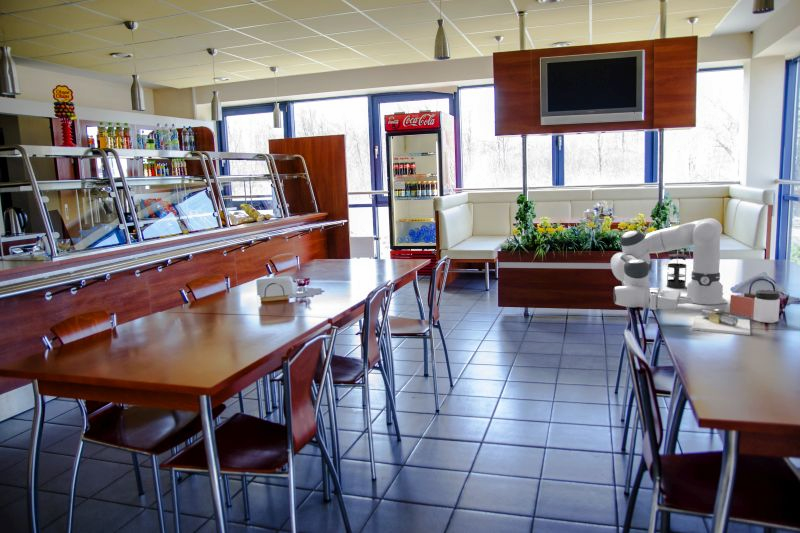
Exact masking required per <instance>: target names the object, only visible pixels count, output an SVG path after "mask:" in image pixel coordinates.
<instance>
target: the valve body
mask: <svg viewBox="0 0 800 533" xmlns="http://www.w3.org/2000/svg"><path fill="white" fill-rule="evenodd" d="M700 316H702V317H705V318H708V319H709V321H711V322H714V323H718V324H721V323H726V324H729V325H733V326H735V325H737V323H738V319H739V318H738V317H735V316H732V315H727V314H718V313H714V311H712V310H708V309H702V310H701V312H700Z"/></svg>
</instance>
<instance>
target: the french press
mask: <svg viewBox="0 0 800 533" xmlns="http://www.w3.org/2000/svg"><path fill="white" fill-rule="evenodd" d="M667 256H668V259H669V260H670V261H671V260H674V259H676V262H674V263H671V262H670V263H667V268H669V269H670V268H672V269H673V273H667V280H666V287H667V288H670V289H685V287H686V288H687V285H686V282H687V281H686V280H687V278H686V277H687V264H685V263H678V260H679V259H680V260H684V261H686V260H687V259H686V258H687V256H688V255H686V254H681V253H679V249H677V253H674V254H673V253H672V254H668V255H667ZM680 269H684V270H685V272H684V274H682V273H680ZM669 277H671V279H670V278H669ZM680 278H684V279H680Z"/></svg>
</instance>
